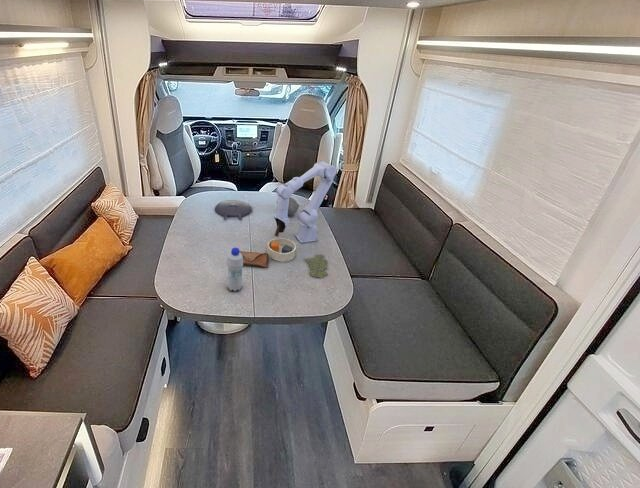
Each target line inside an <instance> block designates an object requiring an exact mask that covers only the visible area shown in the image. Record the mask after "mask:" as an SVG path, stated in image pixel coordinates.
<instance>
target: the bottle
mask: <svg viewBox="0 0 640 488" xmlns="http://www.w3.org/2000/svg"><path fill="white" fill-rule="evenodd" d="M240 251H241V250H240V248H238V247H233V248H231V251H230V252H229V253H228V255H227V260H226V264H227V265H226V266H227V281H226V283H227V288H228V289H229V291H233V292H237V291H240V290H241V288H242V286H243V256H242V254H241V253H240Z"/></svg>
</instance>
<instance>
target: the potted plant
mask: <svg viewBox="0 0 640 488" xmlns="http://www.w3.org/2000/svg"><path fill="white" fill-rule="evenodd" d="M277 201H278V198H277V199H276V202H277ZM299 207H300V204H299V203H298V202H297V200H295V198H293V197H290V198H289V206H288V217H289V216H292V217H293V216H294V215H295V214H296V213H297V211H298V210H299Z"/></svg>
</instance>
